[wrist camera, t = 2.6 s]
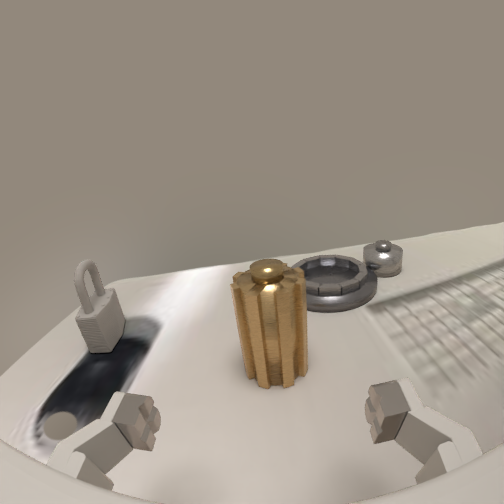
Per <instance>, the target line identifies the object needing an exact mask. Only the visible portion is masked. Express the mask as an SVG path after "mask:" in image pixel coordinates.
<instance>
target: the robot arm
mask: <svg viewBox="0 0 504 504" xmlns="http://www.w3.org/2000/svg"><path fill="white" fill-rule="evenodd" d="M368 394H369V396H370V397H369V398H368V399H367V400H366V403H365V415H366V420H367V422H368V423H369V424H371V425H372V426H371V429H370V433H371V436H372V439H373V443H374V444H377V443H382V442H386V441H390V440H395V441H396V442H397V443H398V444H399V445H400V446H402V447H403V448H404V449H405V450H406V451H408V452H409V453H410V454H411V455H413V456H414V457H415V458H416V459H417V460H419V461H420V462H421V463H422V464H424V466H423V467H422V469H421V470H420V471H419V472H418V474H417V475H416V477H415V479H416V482H417V485H414V486H411V487H408V488H405V489H402V490H399V491H396V492H392V493H389V494H386V495H382V496H378V497H374V498H370V499H366V500H362V501H357V502H353V503H348V504H504V442H503V443H502V444H500V445H498V446H497V447H495V448H493V449H492V450H490V451H488V452H487V453H485V454H483V452H482V450H481V448H480V446H479V444H478V442H477V440H476V438H475V437H474V435H473V433H472V431H471V430H470V429H468V428H466V427H464V426H462V425H461V424H459V423H457V422H455V421H453V420H451V419H450V418H448V417H446V416H444V415H442V414H441V413H439V412H437V411H435V410H433V409H432V408H430V407H428V406H426V407H424V406H423V404H422V402H421V400H420V398H419V396H418V394H417V392H416V390H415V388H414V386H413V385H412V383H411V381H410V379H409V378H408V377H407V378H403V379H399V380H393V381H389V382H385V383H380V384H376V385H371V386H370V387H369V391H368ZM153 404H154V401H153V399H152V397H150V396H144V395H137V394H130V393H123V392H115V393H114V394H113V396H112V398H111V400H110V402H109V403H108V405H107V407H106V409H105V411H104V413H103V415H102V417H101V419H97V420H95V421H93V422H92V423H90V424H89V425H87V426H85V427H84V428H82V429H81V430H79V431H77V432H76V433H74V434H72V435H71V436H69V437H67V438H66V439H64V440H62V441H61V442H59V443H58V444H57V446H56V447H55V449H54V451H53V453H52V455H51V457H50V459H49V460H48V462H47V464H46V465H45V464H43V463H41V462H39V461H37V460H35V459H34V458H32V457H30V456H28V455H26V454H24V453H23V452H21V451H19V450H17V449H16V448H14V447H12V446H11V445H9V444H7V443H6V442H4V441H3V440H1V439H0V504H162V503H157V502H152V501H148V500H143V499H139V498H135V497H131V496H128V495H124V494H120V493H117V492H114V491H112V488H113V485H114V484H113V482H112V481H111V480H110V479H109V478H108V477H107V476H106V475H105V474H106V473H108V472H109V471H110V470H111V469H112V468H113V467H114V466H116V465H117V464H118V463H119V462H120V461H121V460H122V459H123V458H124V457H126V456H127V455H128V454H129V453H130V452H131V451H132V450H133V449H139V450H146V451H152V450H153V447H154V444H155V440H156V438H155V436H154V434H155V433H156V432H157V431H159V428H160V425H161V417H160V413H159V411H158V409H157V408H156V407H154V406H153Z"/></svg>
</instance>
